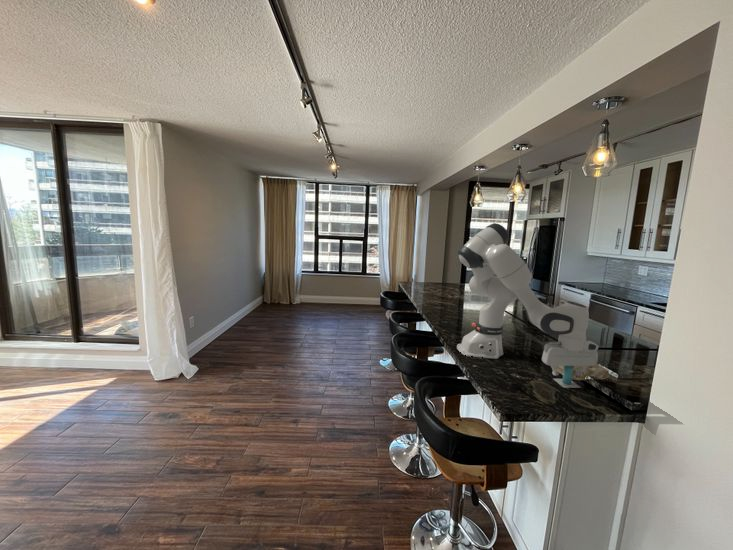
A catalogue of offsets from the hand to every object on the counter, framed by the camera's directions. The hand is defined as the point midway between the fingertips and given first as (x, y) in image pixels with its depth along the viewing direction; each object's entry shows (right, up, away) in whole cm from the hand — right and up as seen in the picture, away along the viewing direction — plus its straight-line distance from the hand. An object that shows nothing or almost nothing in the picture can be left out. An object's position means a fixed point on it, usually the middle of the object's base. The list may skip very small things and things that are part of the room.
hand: (566, 375), depth 120 cm
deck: (0, -4, +1) cm, 4 cm away
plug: (0, -4, +1) cm, 4 cm away
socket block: (+11, -3, +8) cm, 14 cm away
